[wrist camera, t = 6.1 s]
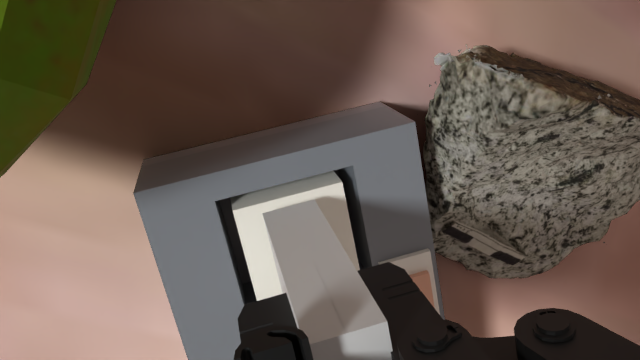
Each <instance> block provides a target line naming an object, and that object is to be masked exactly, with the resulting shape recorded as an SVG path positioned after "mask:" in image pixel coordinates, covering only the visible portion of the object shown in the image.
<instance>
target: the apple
mask: <svg viewBox="0 0 640 360" xmlns="http://www.w3.org/2000/svg"><path fill="white" fill-rule="evenodd" d="M115 3H116V0H0V177H1V176H2V175H4V174H5V173H6V172H7V170H8V169H9V168H10V167H11V166H12V165H13V164H14V163H15V162H16V161H17V159H18V158H19V157H20V156H21V155H22V154H23V153H24V152H25V151H26V150H27V149H28V147H29V146H30V145H31V144H32V143H33V142H34V141H35V140H36V139H37V138H38V137H39V135H40V134H41V133H42V132H43V131H44V130H45V129H46V128H47V127H48V126H49V124H50V123H51V122H52V121H53V120H54V119H55V118H56V117H57V116H58V115H59V114H60V112H61V111H62V110H63V109H64V108H65V107H66V106H67V105H68V104H69V103H70V102H71V100H72V99H73V98H74V97H75V96H76V95H77V94H78V93H79V92H80V91H81V89H82V88H83V87H84V86H85V85H86V84H87V81H88V78H89V76H90V73H91V70H92V67H93V64H94V62H95V59H96V56H97V53H98V50H99V48H100V45H101V42H102V39H103V36H104V34H105V31H106V28H107V25H108V23H109V20H110V17H111V14H112V11H113V9H114V6H115Z"/></svg>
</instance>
